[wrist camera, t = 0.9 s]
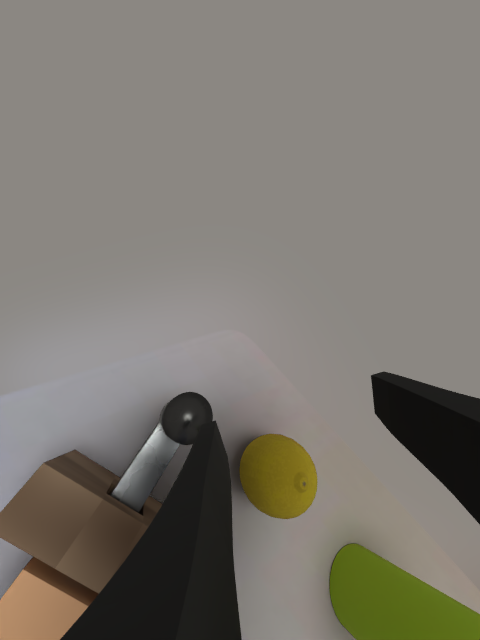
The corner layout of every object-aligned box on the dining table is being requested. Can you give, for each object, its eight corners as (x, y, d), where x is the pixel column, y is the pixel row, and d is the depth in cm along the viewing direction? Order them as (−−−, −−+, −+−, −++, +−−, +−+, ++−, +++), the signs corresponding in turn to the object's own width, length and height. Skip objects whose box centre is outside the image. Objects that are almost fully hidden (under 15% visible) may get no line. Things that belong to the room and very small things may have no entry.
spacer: (65, 676, 12) (39, 760, 9) (-21, 631, 12) (-77, 703, 9) (121, 578, 14) (114, 621, 11) (49, 536, 14) (23, 569, 11)
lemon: (223, 438, 22) (259, 446, 15) (274, 427, 24) (325, 429, 17) (232, 508, 20) (277, 554, 13) (286, 489, 22) (349, 520, 15)
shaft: (38, 681, 12) (-44, 882, 7) (-11, 655, 12) (-135, 843, 6) (200, 411, 19) (221, 408, 14) (172, 392, 19) (183, 382, 14)
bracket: (158, 563, 17) (164, 631, 12) (39, 492, 16) (-15, 529, 11) (182, 516, 19) (198, 557, 13) (75, 449, 18) (43, 462, 12)
